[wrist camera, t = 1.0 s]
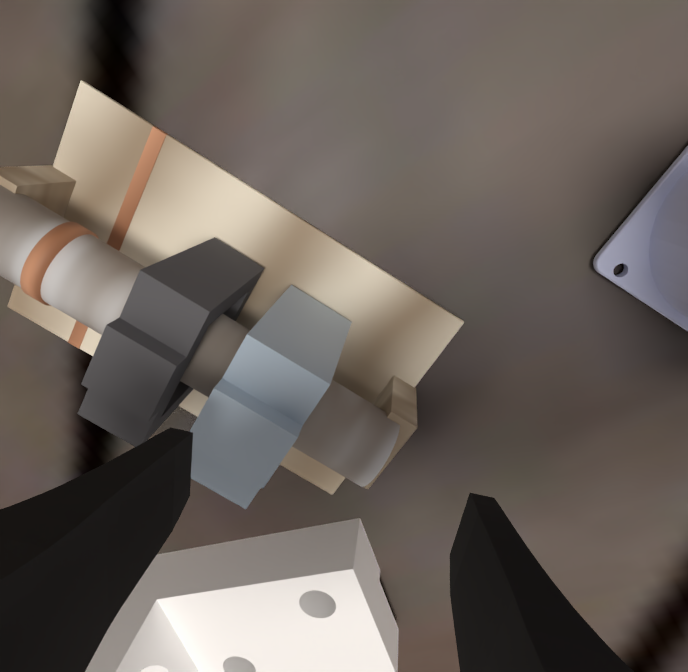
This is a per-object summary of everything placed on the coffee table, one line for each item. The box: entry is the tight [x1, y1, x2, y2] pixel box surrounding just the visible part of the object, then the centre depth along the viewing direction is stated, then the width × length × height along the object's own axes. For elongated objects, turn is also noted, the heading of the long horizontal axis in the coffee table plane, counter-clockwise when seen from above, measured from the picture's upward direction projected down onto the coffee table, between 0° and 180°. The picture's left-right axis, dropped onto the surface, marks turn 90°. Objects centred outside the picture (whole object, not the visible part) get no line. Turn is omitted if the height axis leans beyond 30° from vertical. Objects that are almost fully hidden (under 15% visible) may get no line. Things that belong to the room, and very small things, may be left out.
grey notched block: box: [78, 237, 264, 447], centre depth 18 cm, size 2×6×7 cm, turn 149°
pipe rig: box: [0, 81, 464, 495], centre depth 19 cm, size 18×11×5 cm, turn 59°
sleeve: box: [190, 285, 352, 509], centre depth 18 cm, size 3×6×7 cm, turn 149°
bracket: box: [85, 518, 399, 672], centre depth 24 cm, size 13×7×8 cm, turn 108°
